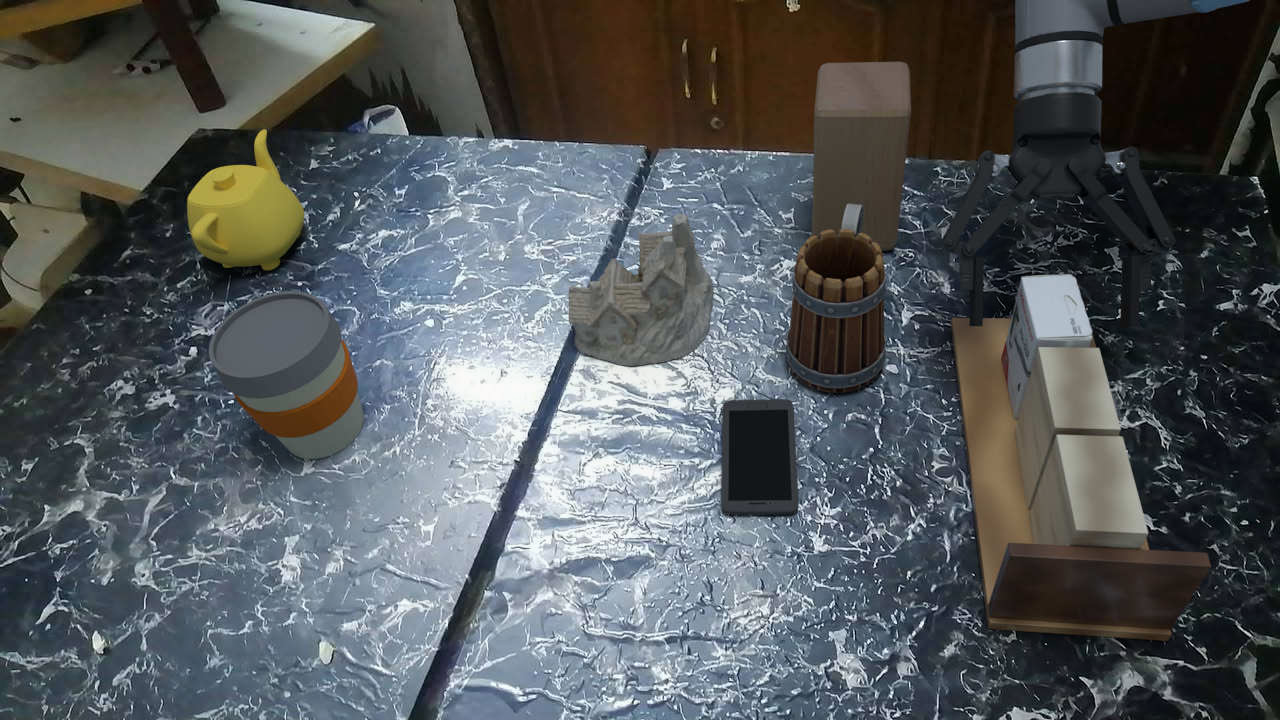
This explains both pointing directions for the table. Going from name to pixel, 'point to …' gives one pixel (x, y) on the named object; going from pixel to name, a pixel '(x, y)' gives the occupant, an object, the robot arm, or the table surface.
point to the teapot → (245, 213)
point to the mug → (838, 309)
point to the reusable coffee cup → (291, 372)
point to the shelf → (1060, 499)
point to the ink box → (1042, 327)
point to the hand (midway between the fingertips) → (1051, 327)
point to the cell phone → (759, 457)
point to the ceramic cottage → (646, 303)
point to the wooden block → (861, 146)
